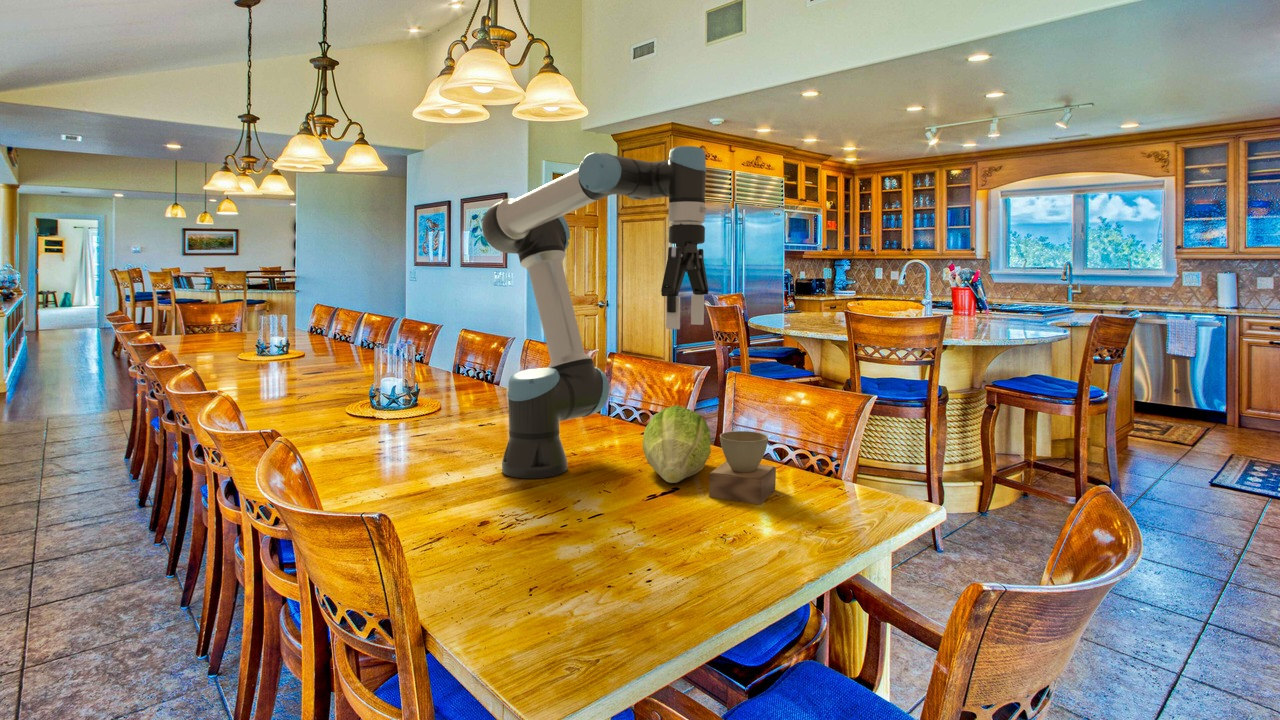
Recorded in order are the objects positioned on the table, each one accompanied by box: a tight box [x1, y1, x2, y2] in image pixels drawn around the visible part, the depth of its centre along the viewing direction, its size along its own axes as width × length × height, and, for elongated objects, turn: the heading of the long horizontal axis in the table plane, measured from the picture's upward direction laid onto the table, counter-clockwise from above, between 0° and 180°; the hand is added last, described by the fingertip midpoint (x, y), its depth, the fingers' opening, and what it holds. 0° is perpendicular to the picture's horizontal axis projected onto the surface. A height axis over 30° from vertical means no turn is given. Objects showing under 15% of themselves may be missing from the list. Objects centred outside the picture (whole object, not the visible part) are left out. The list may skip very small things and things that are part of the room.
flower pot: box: [719, 430, 769, 472], centre depth 146 cm, size 10×10×7 cm
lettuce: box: [642, 405, 712, 484], centre depth 161 cm, size 15×24×16 cm
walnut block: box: [708, 460, 777, 505], centre depth 147 cm, size 11×11×5 cm
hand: (685, 326), depth 148 cm, fingers open, 13 cm apart
